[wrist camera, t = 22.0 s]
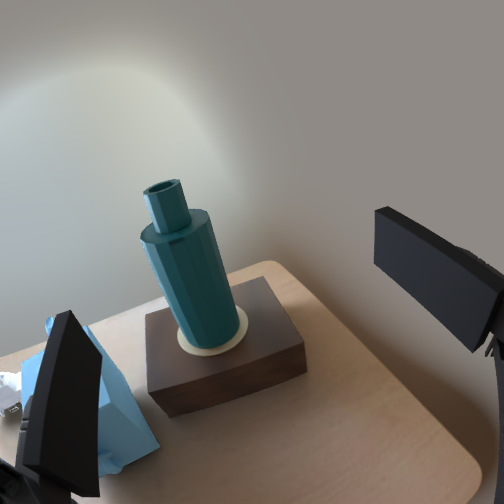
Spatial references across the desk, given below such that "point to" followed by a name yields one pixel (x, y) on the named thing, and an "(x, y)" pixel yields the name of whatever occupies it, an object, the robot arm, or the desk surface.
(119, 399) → the teapot
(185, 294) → the bottle
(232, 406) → the desk surface
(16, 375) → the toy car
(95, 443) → the robot arm
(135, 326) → the desk surface
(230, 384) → the dark brown wooden block
